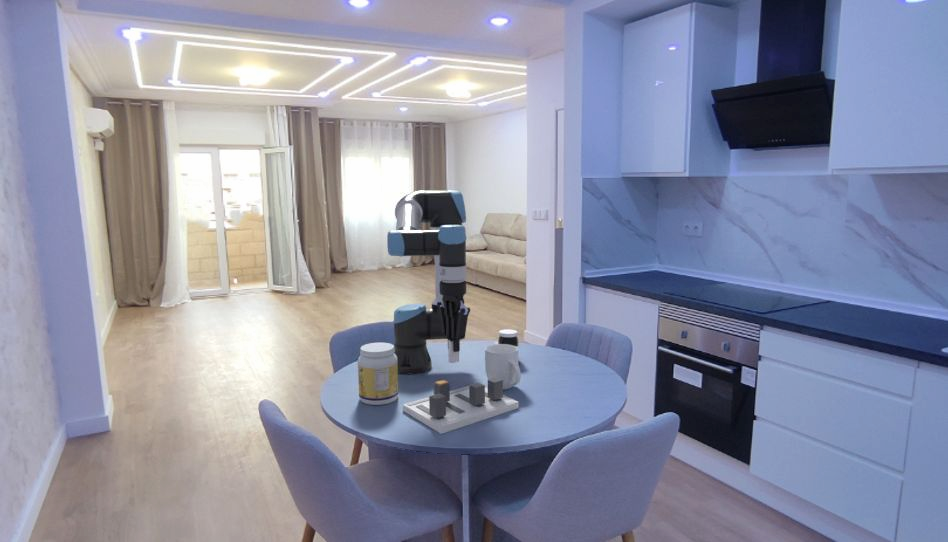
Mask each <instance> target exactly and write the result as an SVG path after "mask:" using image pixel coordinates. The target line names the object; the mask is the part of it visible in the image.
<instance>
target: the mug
mask: <svg viewBox="0 0 948 542" xmlns="http://www.w3.org/2000/svg"><path fill="white" fill-rule="evenodd" d="M493 344H494V343H493ZM493 344H491V345H490V344H489V345H488V346H486V347H485V349H484V365H485V372H486V373H485V374H486V377H487V381H488V380H489V379H493V378H496V377H497V378H499V379H502V380H503V391H504V390H505V391H506V390H509V389H511V388H512V387H513V386H517V385H519V384H520V383H521V382H520V381H521V376H522V375H521V367H520V365H519V359H520V358H519V347H518V348H517V347H516V346H513V345H508V344H494V345H493Z"/></svg>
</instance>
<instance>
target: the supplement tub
mask: <svg viewBox="0 0 948 542" xmlns="http://www.w3.org/2000/svg"><path fill="white" fill-rule="evenodd" d="M394 348H395V344H393V343H388V342H370V343H366V344H363V345H361V347H360V352H359V354H360V355H359V357H358V360H357V368H358V369H357V370H358V371H357V373H358V374H357V375H358V376H357V377H358V397H359V400H360V401H361V403H363V404H366V405H370V406H372V405H373V406H383V405H387V404H391V403H393V402H394V401H396V400H397V399H398V398H399V397H398V396H399V376H398V375H399V373H398V363H397V361H398V360H397V356H396V355H395V354H394V352H395V350H394Z"/></svg>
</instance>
